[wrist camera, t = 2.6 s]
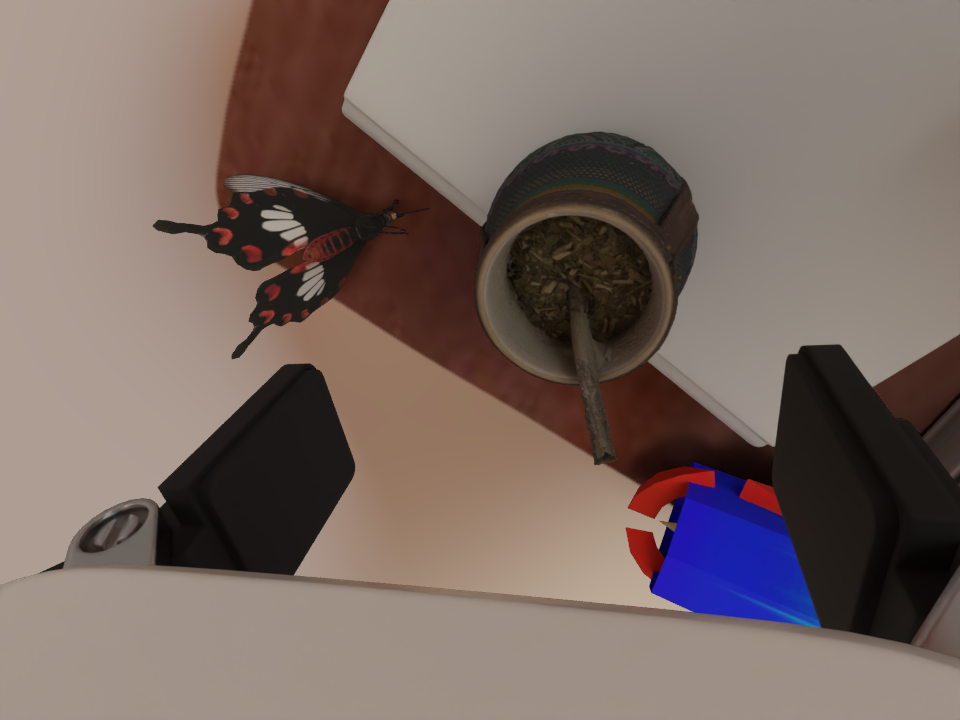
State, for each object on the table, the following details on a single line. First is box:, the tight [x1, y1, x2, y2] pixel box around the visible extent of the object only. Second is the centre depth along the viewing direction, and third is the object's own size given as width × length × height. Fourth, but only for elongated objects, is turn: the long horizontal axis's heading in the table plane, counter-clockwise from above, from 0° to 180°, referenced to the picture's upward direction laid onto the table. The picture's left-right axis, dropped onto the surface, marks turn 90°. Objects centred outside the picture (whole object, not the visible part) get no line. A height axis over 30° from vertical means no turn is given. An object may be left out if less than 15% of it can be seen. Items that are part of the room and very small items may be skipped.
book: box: [342, 0, 960, 447], centre depth 20 cm, size 18×4×24 cm
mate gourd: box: [473, 131, 699, 465], centre depth 17 cm, size 7×8×10 cm
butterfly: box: [153, 174, 430, 359], centre depth 25 cm, size 11×8×10 cm
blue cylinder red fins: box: [626, 462, 821, 628], centre depth 28 cm, size 12×12×12 cm
